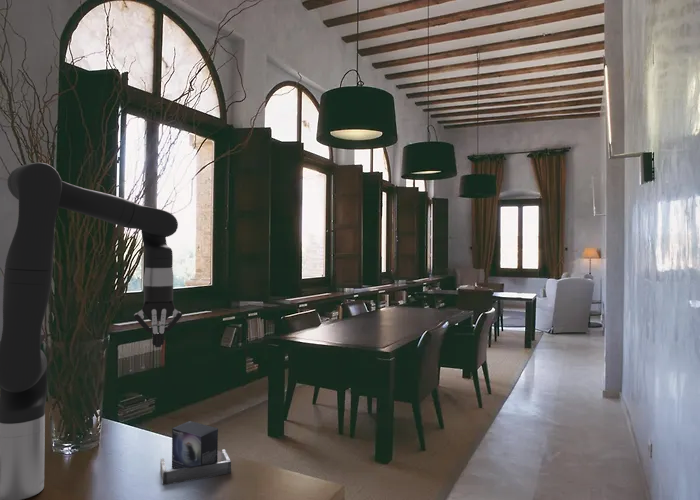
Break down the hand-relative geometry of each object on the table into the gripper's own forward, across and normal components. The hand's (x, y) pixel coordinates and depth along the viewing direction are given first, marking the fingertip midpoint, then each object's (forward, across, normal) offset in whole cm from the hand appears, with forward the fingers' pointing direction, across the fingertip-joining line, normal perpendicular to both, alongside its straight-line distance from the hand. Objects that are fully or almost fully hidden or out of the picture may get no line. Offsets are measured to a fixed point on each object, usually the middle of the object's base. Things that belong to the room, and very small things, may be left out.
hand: (158, 346), depth 138 cm
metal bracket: (+29, +8, -17) cm, 35 cm away
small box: (+29, +8, -15) cm, 34 cm away
